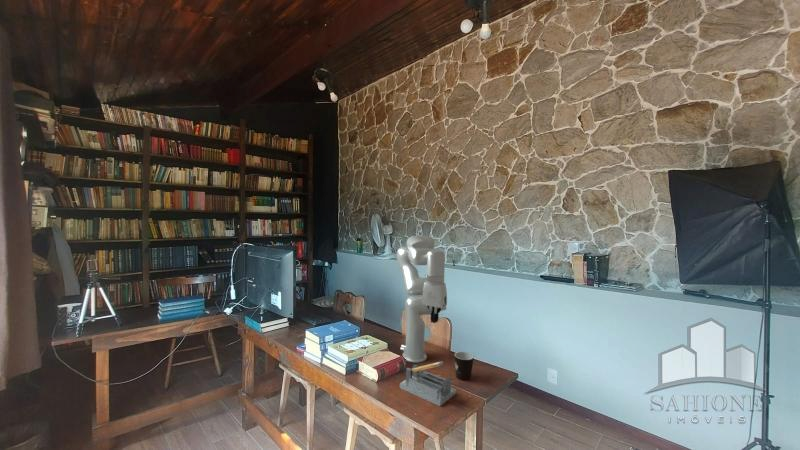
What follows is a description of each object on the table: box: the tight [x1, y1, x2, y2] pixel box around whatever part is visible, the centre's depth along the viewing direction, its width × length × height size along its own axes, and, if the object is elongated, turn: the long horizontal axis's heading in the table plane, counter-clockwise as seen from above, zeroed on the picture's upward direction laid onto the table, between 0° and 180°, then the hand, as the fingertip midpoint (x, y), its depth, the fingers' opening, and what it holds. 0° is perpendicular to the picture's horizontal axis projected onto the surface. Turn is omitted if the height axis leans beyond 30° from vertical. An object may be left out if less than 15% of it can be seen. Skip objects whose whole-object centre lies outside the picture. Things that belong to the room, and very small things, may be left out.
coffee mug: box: [454, 351, 475, 382], centre depth 152 cm, size 12×9×10 cm
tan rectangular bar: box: [411, 360, 444, 374], centre depth 139 cm, size 17×3×2 cm, turn 51°
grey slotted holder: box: [399, 363, 457, 407], centre depth 138 cm, size 20×12×8 cm, turn 51°
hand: (434, 322), depth 142 cm, fingers closed
